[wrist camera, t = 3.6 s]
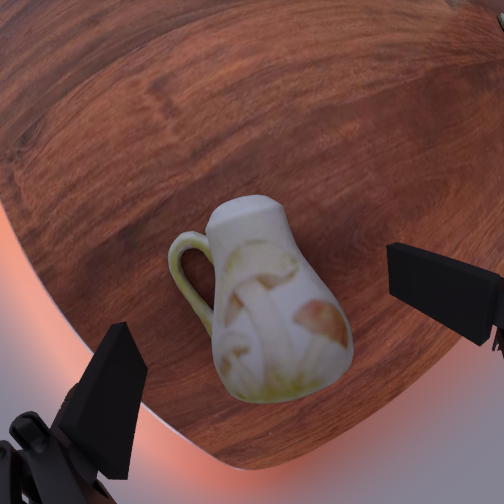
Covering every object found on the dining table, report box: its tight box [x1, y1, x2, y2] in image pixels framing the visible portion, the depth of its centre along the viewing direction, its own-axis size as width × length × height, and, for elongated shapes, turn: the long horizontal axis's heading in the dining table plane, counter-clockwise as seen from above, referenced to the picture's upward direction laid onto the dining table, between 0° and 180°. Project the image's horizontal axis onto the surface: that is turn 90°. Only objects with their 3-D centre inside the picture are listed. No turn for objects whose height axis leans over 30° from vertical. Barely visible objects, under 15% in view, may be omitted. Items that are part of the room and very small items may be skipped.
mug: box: [168, 195, 354, 404], centre depth 14 cm, size 8×10×10 cm
